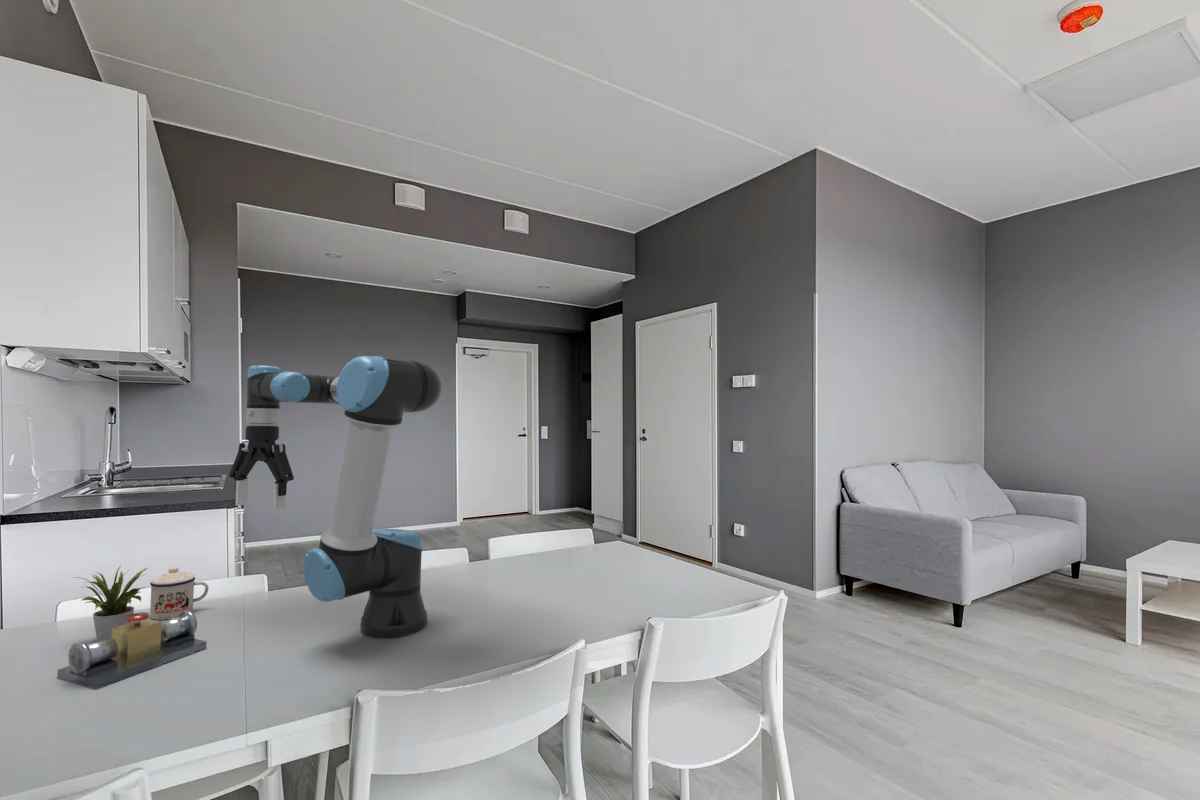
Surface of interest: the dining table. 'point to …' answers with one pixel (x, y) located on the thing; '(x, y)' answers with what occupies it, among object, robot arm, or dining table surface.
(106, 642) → the pipe run
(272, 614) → the dining table surface
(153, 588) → the teacup with lid
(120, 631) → the brass valve
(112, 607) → the house plant
